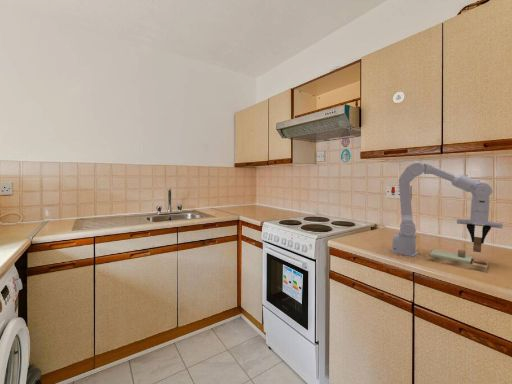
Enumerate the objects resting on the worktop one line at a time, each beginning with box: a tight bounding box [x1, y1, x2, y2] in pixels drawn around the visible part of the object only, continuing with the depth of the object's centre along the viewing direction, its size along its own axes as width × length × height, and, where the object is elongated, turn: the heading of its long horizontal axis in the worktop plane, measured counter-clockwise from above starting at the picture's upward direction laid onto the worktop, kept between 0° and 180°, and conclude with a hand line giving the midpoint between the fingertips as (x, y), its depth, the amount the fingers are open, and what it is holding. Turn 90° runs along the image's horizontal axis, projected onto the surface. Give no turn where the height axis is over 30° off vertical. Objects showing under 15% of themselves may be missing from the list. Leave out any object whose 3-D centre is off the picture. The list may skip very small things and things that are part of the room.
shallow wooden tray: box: [425, 250, 490, 273], centre depth 106 cm, size 20×10×2 cm, turn 44°
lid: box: [429, 248, 474, 264], centre depth 107 cm, size 13×9×4 cm
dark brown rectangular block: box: [472, 236, 482, 253], centre depth 107 cm, size 2×2×6 cm
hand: (477, 242), depth 107 cm, fingers closed on dark brown rectangular block, 2 cm apart
